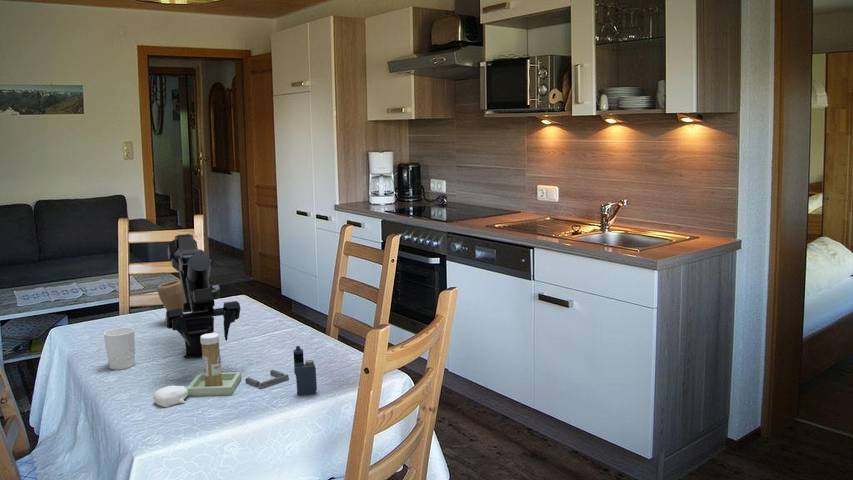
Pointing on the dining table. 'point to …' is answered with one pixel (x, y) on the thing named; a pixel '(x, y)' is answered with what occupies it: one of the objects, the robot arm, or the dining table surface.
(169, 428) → the dining table surface
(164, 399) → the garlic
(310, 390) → the vaping device
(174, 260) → the robot arm
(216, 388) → the tray
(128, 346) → the white cup
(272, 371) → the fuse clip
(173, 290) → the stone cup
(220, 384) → the sprinkles bottle
